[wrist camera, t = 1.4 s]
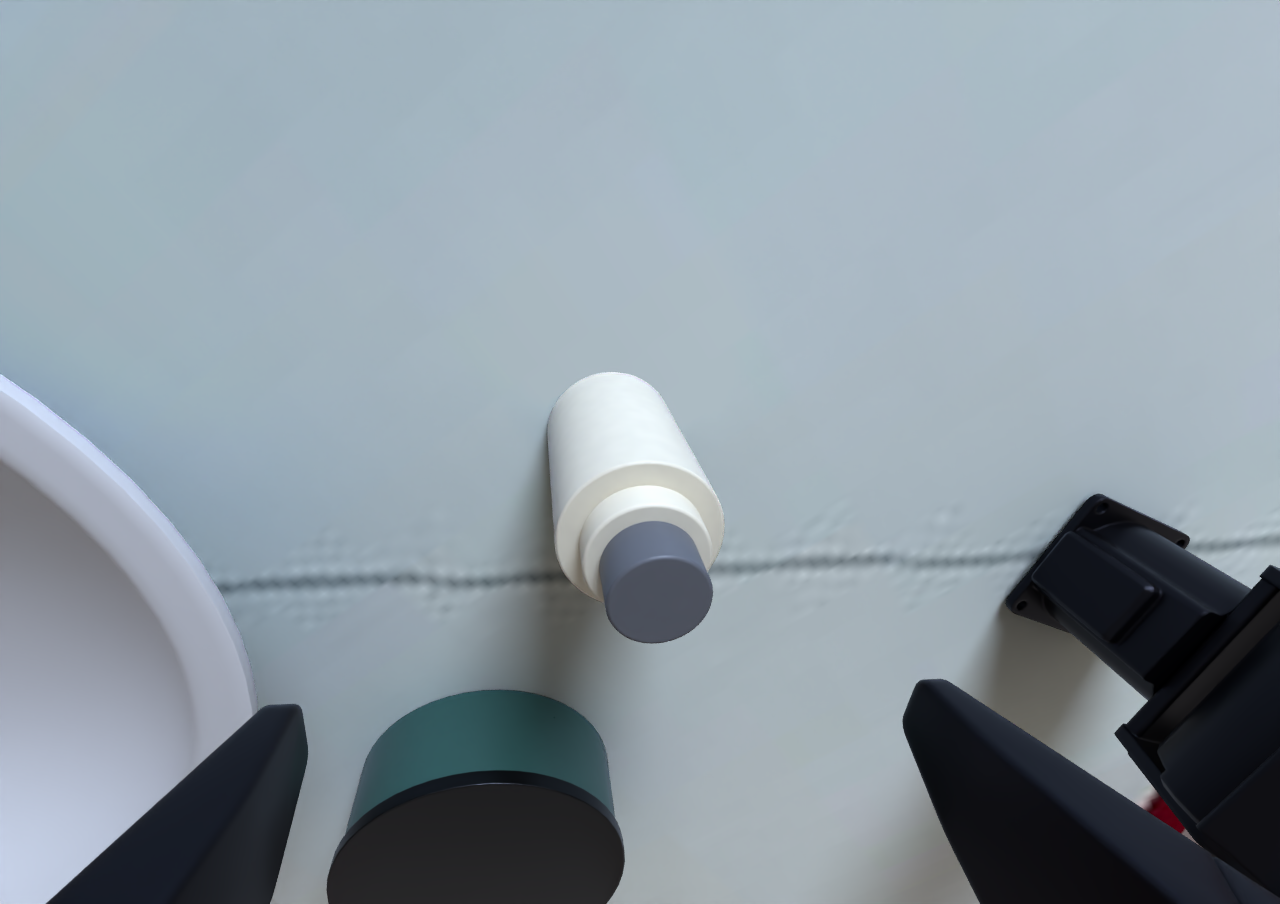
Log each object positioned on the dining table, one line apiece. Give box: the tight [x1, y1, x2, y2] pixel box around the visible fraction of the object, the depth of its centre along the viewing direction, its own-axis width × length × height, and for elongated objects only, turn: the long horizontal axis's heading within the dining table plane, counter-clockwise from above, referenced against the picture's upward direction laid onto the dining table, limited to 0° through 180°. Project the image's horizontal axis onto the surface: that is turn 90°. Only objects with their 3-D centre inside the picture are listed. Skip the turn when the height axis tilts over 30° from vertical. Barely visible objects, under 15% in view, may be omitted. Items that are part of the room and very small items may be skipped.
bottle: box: [547, 372, 725, 643], centre depth 18 cm, size 4×4×10 cm
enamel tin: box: [327, 690, 625, 904], centre depth 26 cm, size 11×11×5 cm
